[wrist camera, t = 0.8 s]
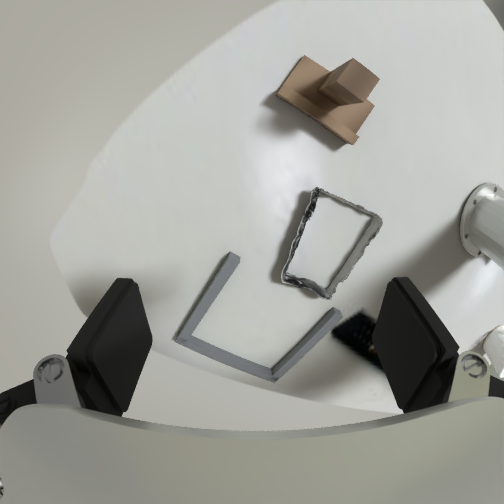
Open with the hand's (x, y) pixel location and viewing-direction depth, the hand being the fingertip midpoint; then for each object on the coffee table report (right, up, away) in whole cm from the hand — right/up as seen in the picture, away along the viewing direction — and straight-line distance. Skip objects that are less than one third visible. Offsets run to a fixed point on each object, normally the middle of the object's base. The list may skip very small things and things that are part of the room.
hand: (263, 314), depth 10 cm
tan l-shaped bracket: (+8, +20, +18) cm, 28 cm away
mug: (+59, -18, +35) cm, 71 cm away
